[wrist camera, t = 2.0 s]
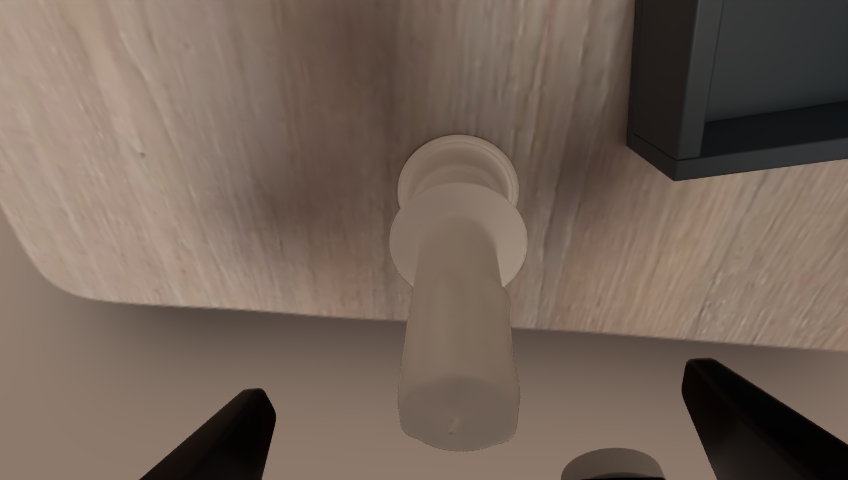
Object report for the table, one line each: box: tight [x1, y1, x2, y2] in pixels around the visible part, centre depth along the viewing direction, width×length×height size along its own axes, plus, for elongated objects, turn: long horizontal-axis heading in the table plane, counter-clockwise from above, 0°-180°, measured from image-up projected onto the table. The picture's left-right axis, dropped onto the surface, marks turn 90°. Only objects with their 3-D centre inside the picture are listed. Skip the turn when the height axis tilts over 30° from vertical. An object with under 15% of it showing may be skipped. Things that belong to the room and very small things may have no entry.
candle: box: [389, 135, 528, 451], centre depth 12 cm, size 5×5×12 cm
